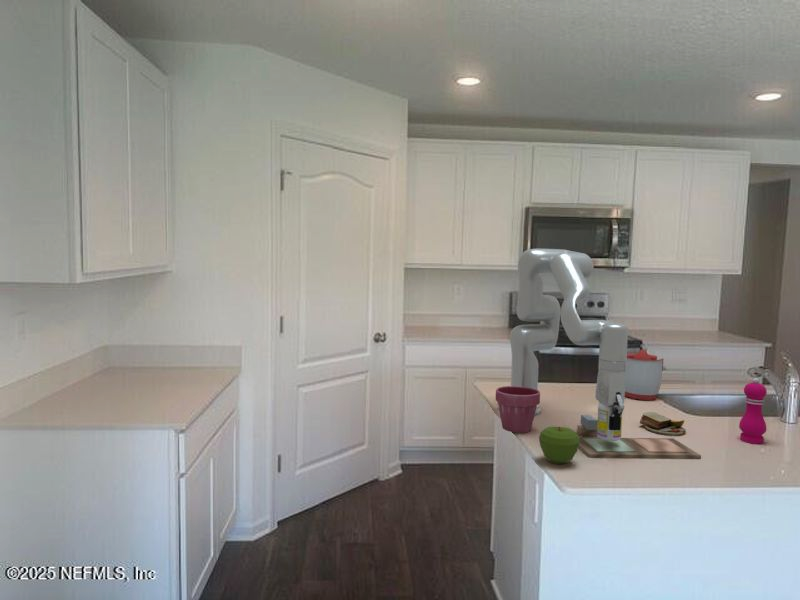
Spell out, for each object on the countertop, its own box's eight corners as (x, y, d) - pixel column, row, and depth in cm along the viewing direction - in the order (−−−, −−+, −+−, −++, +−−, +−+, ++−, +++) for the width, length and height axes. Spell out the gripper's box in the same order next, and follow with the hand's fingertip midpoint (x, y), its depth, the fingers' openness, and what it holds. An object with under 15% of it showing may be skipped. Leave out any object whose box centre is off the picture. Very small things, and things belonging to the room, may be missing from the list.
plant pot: (501, 420, 193) (502, 383, 192) (542, 426, 187) (544, 388, 186) (489, 431, 180) (490, 391, 179) (533, 438, 174) (534, 397, 173)
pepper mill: (756, 445, 171) (761, 381, 170) (733, 439, 178) (737, 376, 176) (770, 442, 175) (775, 379, 173) (747, 436, 181) (751, 374, 180)
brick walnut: (580, 437, 177) (580, 428, 176) (577, 434, 180) (577, 425, 179) (599, 437, 177) (599, 428, 177) (595, 434, 180) (595, 425, 180)
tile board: (589, 457, 157) (589, 453, 157) (570, 440, 172) (571, 436, 172) (700, 458, 159) (701, 454, 159) (673, 441, 174) (673, 437, 174)
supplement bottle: (620, 436, 167) (622, 393, 166) (621, 442, 161) (623, 398, 160) (596, 433, 169) (598, 391, 168) (596, 439, 163) (598, 396, 162)
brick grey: (597, 429, 175) (597, 420, 175) (587, 429, 175) (588, 420, 175) (589, 424, 181) (590, 415, 181) (580, 424, 181) (581, 414, 181)
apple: (554, 471, 147) (556, 433, 146) (529, 458, 156) (531, 422, 155) (587, 466, 151) (588, 429, 150) (561, 453, 160) (562, 419, 160)
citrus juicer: (672, 402, 223) (675, 352, 222) (628, 401, 223) (631, 351, 222) (655, 393, 239) (657, 346, 237) (614, 392, 239) (616, 345, 238)
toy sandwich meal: (667, 438, 177) (668, 424, 177) (633, 427, 189) (633, 413, 189) (694, 434, 183) (695, 419, 183) (658, 423, 195) (659, 409, 195)
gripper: (588, 360, 172) (585, 417, 173) (612, 371, 155) (608, 435, 156) (612, 360, 172) (609, 417, 174) (638, 371, 155) (635, 435, 156)
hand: (609, 425), depth 165 cm, fingers closed on supplement bottle, 6 cm apart
